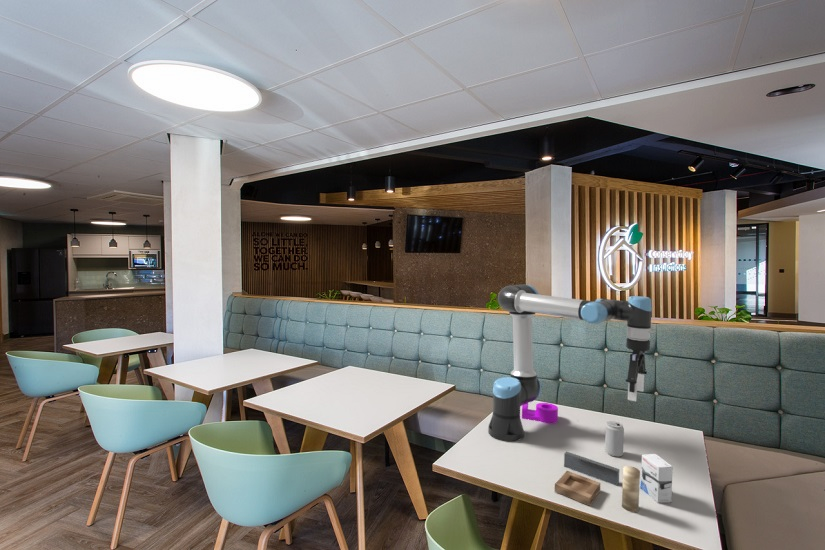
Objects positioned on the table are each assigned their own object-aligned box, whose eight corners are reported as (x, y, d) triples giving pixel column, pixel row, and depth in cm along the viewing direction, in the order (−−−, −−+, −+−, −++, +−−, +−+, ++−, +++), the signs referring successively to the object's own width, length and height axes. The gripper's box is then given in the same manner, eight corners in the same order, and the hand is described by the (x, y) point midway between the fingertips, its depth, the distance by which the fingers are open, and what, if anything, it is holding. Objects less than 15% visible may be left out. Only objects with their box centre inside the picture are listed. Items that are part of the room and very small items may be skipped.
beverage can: (625, 458, 151) (626, 428, 150) (607, 456, 152) (608, 426, 151) (620, 450, 157) (621, 421, 156) (602, 448, 158) (603, 419, 158)
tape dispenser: (557, 417, 190) (558, 404, 189) (557, 425, 180) (557, 412, 180) (523, 412, 196) (524, 399, 195) (521, 419, 186) (521, 406, 186)
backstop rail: (564, 466, 144) (564, 453, 144) (566, 464, 146) (566, 451, 145) (617, 485, 132) (617, 471, 132) (618, 483, 134) (619, 469, 134)
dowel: (620, 507, 121) (621, 470, 120) (623, 501, 124) (625, 464, 123) (636, 514, 118) (638, 475, 117) (639, 507, 121) (641, 469, 120)
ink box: (639, 487, 132) (640, 453, 131) (653, 487, 132) (654, 453, 131) (657, 503, 123) (658, 467, 123) (672, 502, 123) (673, 466, 123)
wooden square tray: (554, 491, 128) (554, 484, 128) (566, 477, 137) (566, 470, 136) (589, 505, 121) (589, 497, 121) (600, 490, 129) (600, 482, 129)
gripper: (643, 345, 131) (640, 407, 132) (655, 335, 150) (653, 389, 151) (619, 342, 136) (616, 402, 137) (633, 332, 155) (631, 384, 156)
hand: (635, 395), depth 144 cm, fingers open, 13 cm apart
